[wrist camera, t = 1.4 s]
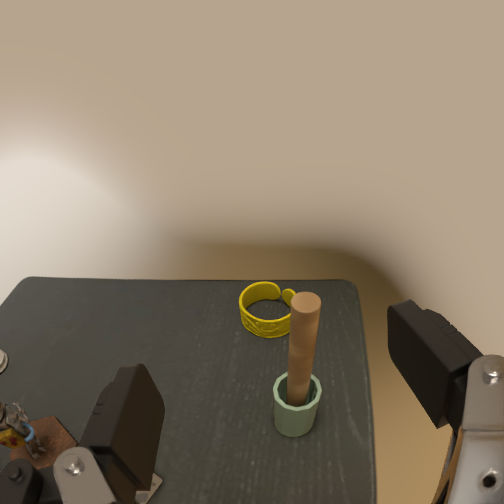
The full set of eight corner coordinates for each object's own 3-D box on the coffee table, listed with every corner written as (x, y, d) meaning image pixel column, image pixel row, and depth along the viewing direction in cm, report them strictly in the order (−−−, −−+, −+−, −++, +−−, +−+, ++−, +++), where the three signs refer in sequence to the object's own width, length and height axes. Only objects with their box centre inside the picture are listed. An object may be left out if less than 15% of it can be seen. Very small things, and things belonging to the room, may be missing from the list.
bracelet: (282, 346, 40) (282, 329, 38) (230, 324, 44) (227, 308, 42) (305, 309, 45) (306, 292, 43) (256, 292, 49) (255, 275, 47)
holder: (267, 430, 31) (266, 402, 27) (281, 398, 34) (282, 365, 30) (307, 441, 29) (313, 415, 25) (318, 408, 32) (326, 376, 28)
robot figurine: (76, 413, 32) (25, 355, 25) (90, 479, 25) (27, 436, 18) (11, 430, 28) (-45, 377, 21) (18, 491, 21) (-51, 449, 14)
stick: (282, 423, 31) (286, 308, 20) (288, 408, 32) (295, 288, 22) (299, 428, 30) (317, 315, 20) (305, 412, 32) (324, 294, 21)
